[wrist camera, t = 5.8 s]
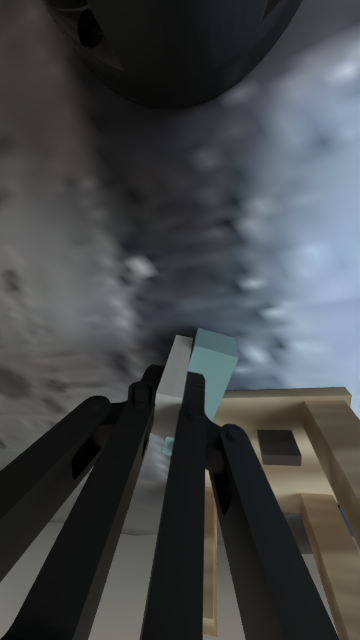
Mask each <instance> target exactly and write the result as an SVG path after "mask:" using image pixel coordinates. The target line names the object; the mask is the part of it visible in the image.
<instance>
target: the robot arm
mask: <svg viewBox="0 0 360 640" xmlns="http://www.w3.org/2000/svg"><path fill="white" fill-rule="evenodd" d="M42 1H43V3H44V5H45V6H46V8H47V10H48V12H49V13H50V15H51V17H52V18H53V20H54V21H55V23H56V24H57V26H58V27H59V29H60V30H61V32H62V33H63V34H64V36H65V37H66V38H67V40H68V41H69V43H70V44H71V45H72V47H73V48H74V49H75V51H76V52H77V53H78V55H79V56H80V57H81V59H82V60H83V61H84V62H85V64H86V65H87V66H88V67H89V69H90V70H91V71H92V72H93V73H94V74H95V75H96V76H97V77H98V78H99V79H100V80H101V81H102V82H103V83H104V84H106V85H107V86H108V87H109V88H111V89H112V90H113V91H115V92H116V93H118V94H119V95H121V96H123V97H125V98H127V99H129V100H131V101H133V102H136V103H139V104H141V105H145V106H149V107H155V108H181V107H187V106H191V105H195V104H198V103H201V102H204V101H206V100H208V99H210V98H213V97H215V96H217V95H218V94H220V93H222V92H224V91H225V90H227V89H228V88H230V87H231V86H233V85H234V84H235V83H237V82H238V81H239V80H241V79H242V78H243V77H244V76H245V75H246V74H247V73H249V72H250V71H251V70H252V69H253V68H254V67H255V66H256V65H257V64H258V63H259V62H260V61H261V60H262V59H263V57H264V56H265V55H266V54H267V53H268V52H269V50H270V49H271V48H272V47H273V45H274V44H275V43H276V41H277V40H278V39H279V37H280V36H281V34H282V33H283V32H284V30H285V29H286V27H287V26H288V24H289V22H290V21H291V19H292V18H293V16H294V14H295V13H296V11H297V9H298V7H299V5H300V4H301V2H302V0H42ZM192 341H193V338H190V337H185V336H180V335H176V337H175V340H174V343H173V346H172V349H171V352H170V355H169V358H168V360H167V363H166V366H165V367H163V366H158V365H153V364H152V365H150V366H149V367H148V368H147V369H146V371H145V373H144V375H143V377H142V379H141V381H138V382H135V383H133V384H131V385H130V386H129V390H128V400H127V401H125V402H121V403H110V401H109V399H108V398H106V397H104V396H92V397H89V398H88V399H86V400H85V401H83V402H82V403H81V404H80V405H79V406H77V407H76V408H75V409H74V410H73V411H71V412H70V413H69V414H68V415H67V416H66V417H64V418H63V419H62V420H61V421H60V422H58V423H57V424H56V425H55V426H54V427H52V428H51V429H50V430H49V431H48V432H46V433H45V434H44V435H43V436H42V437H41V438H39V439H38V440H37V441H36V442H35V443H33V444H32V445H31V446H30V447H29V448H27V449H26V450H25V451H24V452H23V453H21V454H20V455H19V456H18V457H17V458H16V459H14V460H13V461H12V462H11V463H10V464H8V465H7V466H6V467H5V468H4V469H2V470H1V471H0V582H1V581H2V580H3V578H4V577H5V576H6V574H7V573H8V572H9V571H10V570H11V568H12V567H13V566H14V565H15V563H16V562H17V561H18V560H19V558H20V557H21V556H22V555H23V553H24V552H25V551H26V550H27V548H28V547H29V546H30V545H31V543H32V542H33V541H34V539H35V538H36V537H37V536H38V535H39V533H40V532H41V531H42V530H43V528H44V527H45V526H46V524H47V523H48V522H49V521H50V519H51V518H52V517H53V516H54V514H55V513H56V512H57V511H58V509H59V508H60V507H61V506H62V504H63V503H64V502H65V501H66V499H67V498H68V497H69V496H70V494H71V493H72V492H73V491H74V489H75V488H76V487H77V486H78V484H79V483H80V482H81V481H82V479H83V478H84V477H85V476H86V474H87V473H88V472H89V471H90V469H91V468H92V467H93V466H94V467H93V469H92V471H91V473H90V475H89V477H88V479H87V481H86V483H85V484H84V486H83V488H82V490H81V492H80V494H79V496H78V498H77V500H76V502H75V504H74V506H73V508H72V510H71V512H70V514H69V516H68V518H67V520H66V521H65V523H64V525H63V527H62V529H61V531H60V533H59V535H58V537H57V539H56V541H55V543H54V545H53V547H52V549H51V551H50V553H49V555H48V556H47V558H46V560H45V562H44V565H43V566H42V568H41V570H40V572H39V574H38V576H37V578H36V580H35V582H34V584H33V586H32V588H31V590H30V592H29V593H28V595H27V597H26V599H25V601H24V603H23V605H22V607H21V609H20V611H19V613H18V615H17V617H16V618H15V620H14V622H13V624H12V626H11V627H10V629H9V630H8V631H7V633H6V634H5V635H4V636H3V637H2V638H1V639H0V640H88V637H89V634H90V631H91V628H92V625H93V621H94V618H95V615H96V612H97V608H98V605H99V602H100V599H101V595H102V592H103V589H104V586H105V583H106V579H107V576H108V573H109V570H110V566H111V563H112V560H113V556H114V553H115V550H116V547H117V544H118V540H119V537H120V534H121V531H122V527H123V524H124V521H125V517H126V514H127V511H128V508H129V504H130V501H131V498H132V495H133V491H134V488H135V485H136V482H137V478H138V475H139V472H140V469H141V465H142V462H143V459H144V456H145V452H146V449H147V446H148V443H149V435H150V432H151V433H154V434H158V435H162V436H167V437H171V438H174V444H173V449H172V454H171V461H170V467H169V472H168V478H167V484H166V490H165V496H164V501H163V507H162V513H161V519H160V525H159V530H158V536H157V542H156V548H155V554H154V559H153V566H152V571H151V577H150V583H149V588H148V594H147V600H146V606H145V611H144V618H143V624H142V629H141V635H140V640H203V638H202V637H203V581H204V521H205V469H206V470H208V471H209V476H210V481H211V485H212V490H213V494H214V499H215V503H216V508H217V512H218V517H219V521H220V526H221V530H222V535H223V539H224V544H225V548H226V553H227V557H228V562H229V566H230V571H231V575H232V580H233V584H234V589H235V593H236V597H237V602H238V606H239V611H240V616H241V620H242V625H243V629H244V634H245V638H246V640H339V638H338V635H337V633H336V631H335V629H334V626H333V624H332V622H331V620H330V617H329V615H328V613H327V611H326V609H325V607H324V604H323V602H322V600H321V598H320V595H319V593H318V591H317V589H316V586H315V584H314V582H313V580H312V577H311V575H310V573H309V571H308V569H307V566H306V564H305V562H304V560H303V557H302V555H301V553H300V551H299V548H298V546H297V544H296V542H295V540H294V537H293V535H292V533H291V531H290V528H289V526H288V524H287V522H286V520H285V517H284V515H283V513H282V511H281V508H280V506H279V504H278V502H277V499H276V497H275V495H274V493H273V491H272V488H271V486H270V484H269V482H268V479H267V477H266V475H265V473H264V471H263V468H262V466H261V464H260V462H259V459H258V457H257V455H256V453H255V451H254V448H253V446H252V444H251V442H250V439H249V437H248V435H247V434H246V432H245V431H244V430H243V429H242V428H241V427H239V426H237V425H235V424H230V423H229V424H224V425H223V426H222V427H221V426H219V425H217V424H215V423H214V422H212V421H211V420H210V419H209V418H208V417H207V416H206V414H205V409H204V408H205V378H204V376H203V374H199V373H195V372H190V371H188V365H189V359H190V353H191V347H192ZM94 464H95V465H94Z"/></svg>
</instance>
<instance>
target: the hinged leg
mask: <svg viewBox="0 0 360 640" xmlns="http://www.w3.org/2000/svg"><path fill="white" fill-rule="evenodd" d="M238 359H239V357H238V352H237V347H236V342H235V338H232V337H229V336H225V335H222V334H219V333H215V332H212V331H208V330H205V329H201V328H198V330H197V333H196V336H195V339H194V343H193V346H192V349H191V353H190V359H189V365H188V371H190V372H195V373H199V374H203V376H204V378H205V408H204V409H205V414H206V416H207V417H208V418H209V419H210V420H211V421H213V419H214V416H215V414H216V411H217V409H218V407H219V404H220V402H221V399H222V397H223V395H224V392H225V390H226V387H227V385H228V383H229V380H230V378H231V375H232V373H233V371H234V368H235V366H236V364H237V361H238ZM173 444H174V438H171V437H167V436H165V440H164V444H163V448H162V452H161V453H164V454H167V455H170V456H171V454H172V449H173Z"/></svg>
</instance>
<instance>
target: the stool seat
mask: <svg viewBox="0 0 360 640" xmlns="http://www.w3.org/2000/svg"><path fill="white" fill-rule="evenodd" d="M351 397H352V395H351V394H350V393H349V392H348V390H347V389H346V388H345V387H340V388H306V389H273V390H239V391H225V392H224V395H223V397H222V399H221V402H220V404H219V407H218V409H217V411H216V414H215V416H214V419H213V421H212V422H214V423H215V424H217V425H219V426H221V427H222V426H223V425H224V424H229V423H230V424H235V425H237V426H239V427H241V428H242V429H243V430H244V431H245V432H246V434H247V435H248V437H249V439H250V442H251V444H252V446H253V448H254V451H255V453H256V455H257V457H258V459H259V462H260V464H261V466H262V468H263V471H264V473H265V475H266V477H267V479H268V482H269V484H270V486H271V488H272V491H273V493H274V495H275V497H276V499H277V502H278V504H279V506H280V508H281V511H282V512H285V513H298V514H301V517H302V520H303V523H304V526H305V530H306V533H307V536H308V539H309V543H310V546H311V549H312V552H313V556H314V559H315V562H316V565H317V568H318V572H319V575H320V578H321V581H322V585H323V588H324V591H325V594H326V598H327V601H328V604H329V607H330V611H331V614H332V617H333V620H334V624H335V627H336V630H337V633H338V637H339V640H360V554H359V552H358V550H357V547H356V545H355V543H354V541H353V539H352V536H351V534H350V532H349V530H348V528H347V525H346V523H345V521H344V519H343V517H342V514H341V512H340V510H339V508H338V506H337V501H338V503H339V505H340V508H341V510H342V512H343V514H344V516H345V518H346V521H347V523H348V525H349V527H350V529H351V531H352V533H353V536H354V538H355V540H356V542H357V544H358V546H359V549H360V420H359V418H358V417H357V416H356V415H355V413H354V412H353V411H352V410H351V408H350V404H351ZM203 634H206V635H211V636H216V637H217V508H216V503H215V499H214V494H213V490H212V485H211V481H210V476H209V471H208V470H206V469H205V521H204V581H203Z"/></svg>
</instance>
